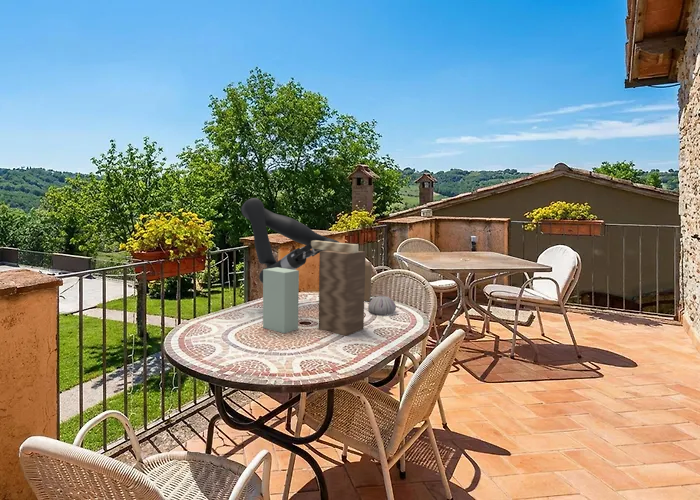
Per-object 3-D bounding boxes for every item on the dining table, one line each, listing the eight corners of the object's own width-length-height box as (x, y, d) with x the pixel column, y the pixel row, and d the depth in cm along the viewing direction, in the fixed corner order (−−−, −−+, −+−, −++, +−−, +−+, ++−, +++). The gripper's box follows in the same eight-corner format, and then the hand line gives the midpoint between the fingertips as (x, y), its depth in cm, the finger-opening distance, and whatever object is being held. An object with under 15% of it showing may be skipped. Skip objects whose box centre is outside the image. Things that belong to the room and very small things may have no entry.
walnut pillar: (318, 329, 180) (319, 251, 176) (336, 323, 190) (338, 248, 186) (346, 336, 172) (347, 254, 168) (363, 329, 181) (365, 251, 178)
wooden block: (370, 298, 240) (371, 261, 238) (369, 302, 230) (370, 264, 228) (352, 297, 241) (353, 260, 239) (350, 301, 231) (351, 263, 229)
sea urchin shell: (401, 313, 209) (402, 296, 208) (382, 318, 200) (382, 300, 199) (381, 307, 219) (381, 292, 218) (361, 312, 210) (362, 295, 209)
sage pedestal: (263, 327, 180) (263, 269, 178) (277, 323, 187) (277, 267, 184) (284, 333, 173) (284, 272, 171) (298, 328, 180) (298, 270, 177)
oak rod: (310, 248, 185) (310, 240, 185) (315, 247, 188) (315, 240, 187) (353, 253, 172) (353, 245, 172) (358, 252, 175) (358, 244, 174)
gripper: (278, 254, 189) (303, 237, 180) (301, 251, 200) (325, 235, 191) (284, 270, 187) (309, 254, 178) (307, 266, 199) (331, 251, 190)
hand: (317, 244), depth 185 cm, fingers open, 8 cm apart
